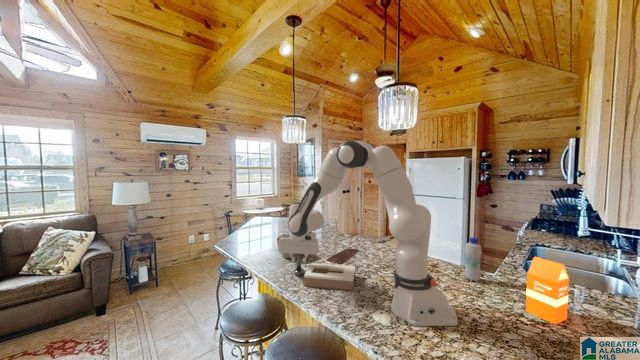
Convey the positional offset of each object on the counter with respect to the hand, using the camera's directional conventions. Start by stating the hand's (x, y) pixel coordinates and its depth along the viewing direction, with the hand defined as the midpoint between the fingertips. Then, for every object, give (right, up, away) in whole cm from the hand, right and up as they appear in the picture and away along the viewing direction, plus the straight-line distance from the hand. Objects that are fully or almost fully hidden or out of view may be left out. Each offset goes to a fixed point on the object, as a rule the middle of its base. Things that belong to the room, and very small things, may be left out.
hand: (298, 261), depth 126 cm
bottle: (+82, -6, -8) cm, 83 cm away
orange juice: (+92, -8, -36) cm, 99 cm away
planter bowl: (-7, -5, +25) cm, 27 cm away
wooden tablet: (+25, -5, +25) cm, 36 cm away
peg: (0, -6, 0) cm, 6 cm away
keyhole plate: (+16, -6, -8) cm, 19 cm away
